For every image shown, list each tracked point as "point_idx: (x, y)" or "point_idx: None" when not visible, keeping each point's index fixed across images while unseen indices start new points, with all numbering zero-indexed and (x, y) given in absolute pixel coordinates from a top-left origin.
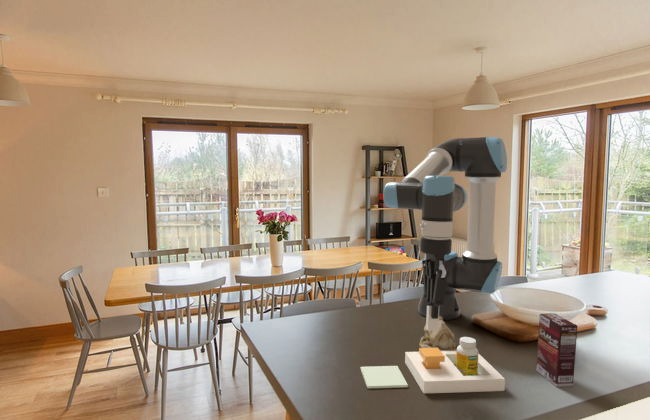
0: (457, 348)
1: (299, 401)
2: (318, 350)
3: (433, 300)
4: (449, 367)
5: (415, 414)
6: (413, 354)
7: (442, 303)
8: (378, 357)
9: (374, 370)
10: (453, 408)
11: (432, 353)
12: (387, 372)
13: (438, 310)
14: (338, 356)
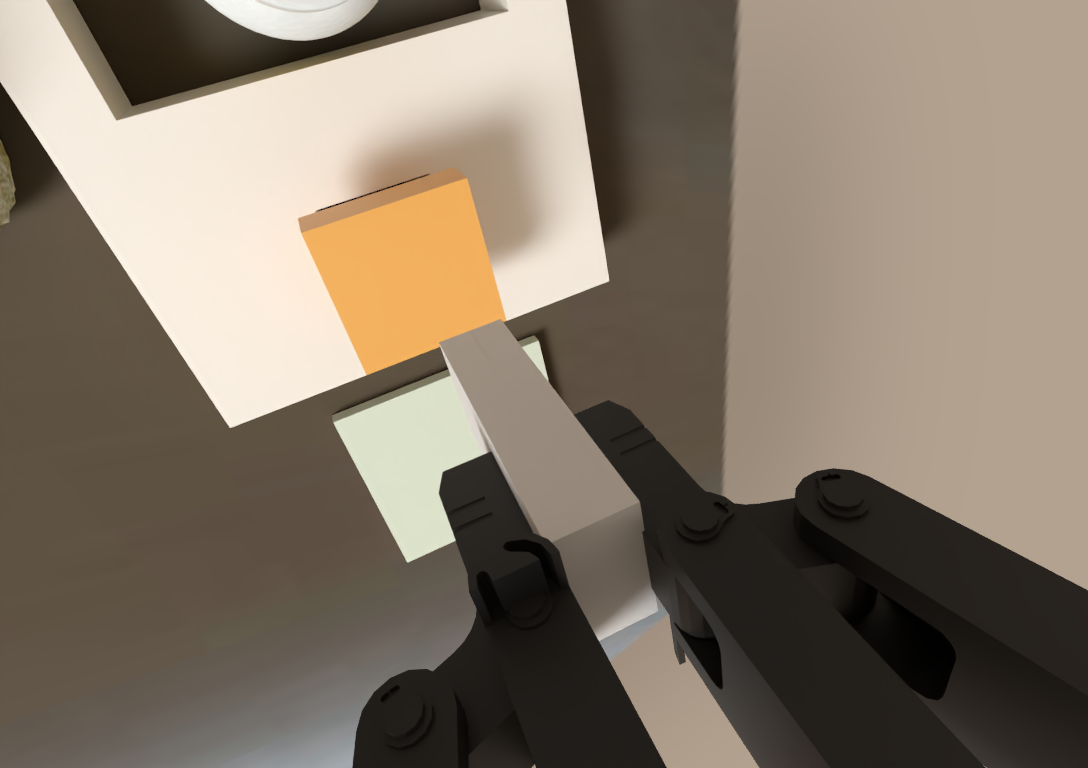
0: (303, 34)
1: (662, 608)
2: (272, 747)
3: (870, 634)
4: (394, 109)
5: (729, 283)
6: (252, 373)
7: (883, 498)
8: (226, 529)
9: (427, 503)
10: (692, 112)
11: (440, 274)
12: (432, 448)
13: (677, 462)
14: (303, 668)
